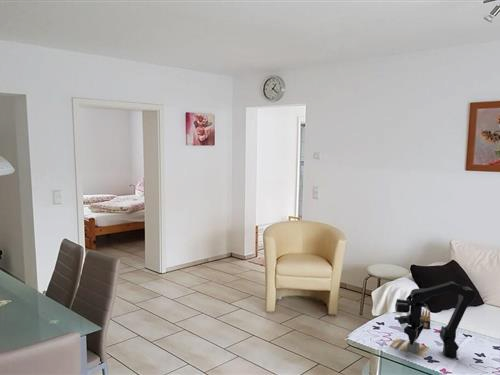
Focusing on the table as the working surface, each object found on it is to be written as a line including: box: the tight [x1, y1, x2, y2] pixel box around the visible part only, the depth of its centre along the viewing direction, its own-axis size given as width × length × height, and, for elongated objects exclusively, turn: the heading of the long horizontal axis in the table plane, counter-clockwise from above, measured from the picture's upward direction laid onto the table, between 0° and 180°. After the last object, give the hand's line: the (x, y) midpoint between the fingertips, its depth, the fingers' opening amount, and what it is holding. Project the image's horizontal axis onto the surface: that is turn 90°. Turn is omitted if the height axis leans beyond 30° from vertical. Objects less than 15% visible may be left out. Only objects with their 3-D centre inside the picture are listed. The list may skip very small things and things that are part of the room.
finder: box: [406, 340, 421, 356], centre depth 221 cm, size 5×5×5 cm
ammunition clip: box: [421, 308, 431, 330], centre depth 254 cm, size 11×2×12 cm, turn 84°
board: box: [388, 337, 431, 358], centre depth 226 cm, size 18×14×1 cm
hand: (413, 341), depth 221 cm, fingers open, 9 cm apart
